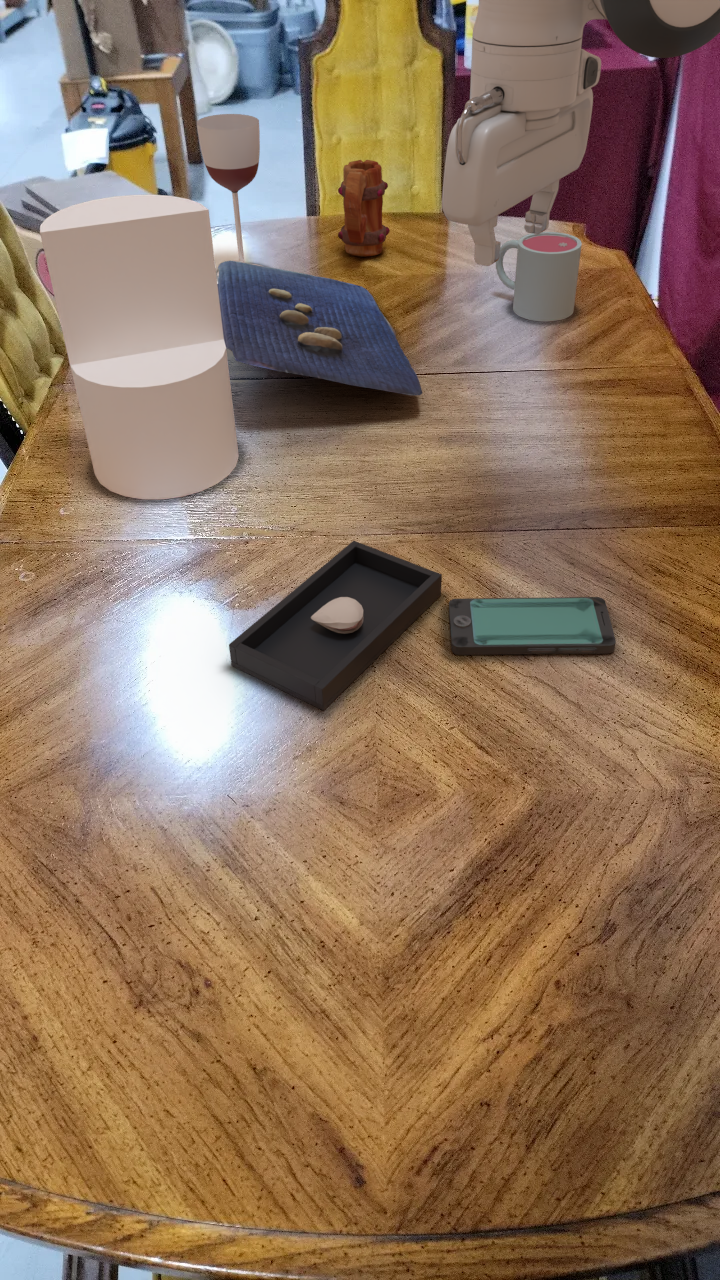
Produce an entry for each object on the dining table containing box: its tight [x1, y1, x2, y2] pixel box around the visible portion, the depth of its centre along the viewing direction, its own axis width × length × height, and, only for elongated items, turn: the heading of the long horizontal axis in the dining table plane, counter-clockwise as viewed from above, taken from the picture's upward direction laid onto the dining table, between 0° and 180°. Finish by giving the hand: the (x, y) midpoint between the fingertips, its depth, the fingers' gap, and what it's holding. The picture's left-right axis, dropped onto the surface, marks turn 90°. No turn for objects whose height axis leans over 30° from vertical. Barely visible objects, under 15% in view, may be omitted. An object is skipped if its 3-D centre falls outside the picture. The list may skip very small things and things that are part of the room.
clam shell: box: [311, 597, 364, 634], centre depth 93 cm, size 4×5×2 cm
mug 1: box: [337, 159, 391, 257], centre depth 165 cm, size 15×8×15 cm, turn 168°
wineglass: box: [196, 113, 262, 277], centre depth 158 cm, size 9×10×23 cm
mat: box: [217, 260, 423, 396], centre depth 141 cm, size 45×27×12 cm, turn 10°
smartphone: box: [448, 596, 617, 656], centre depth 94 cm, size 7×1×15 cm
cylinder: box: [39, 194, 240, 500], centre depth 110 cm, size 17×17×28 cm
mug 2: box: [495, 231, 583, 323], centre depth 149 cm, size 14×9×10 cm
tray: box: [228, 540, 443, 711], centre depth 94 cm, size 11×20×3 cm, turn 145°
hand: (512, 246), depth 91 cm, fingers open, 8 cm apart
